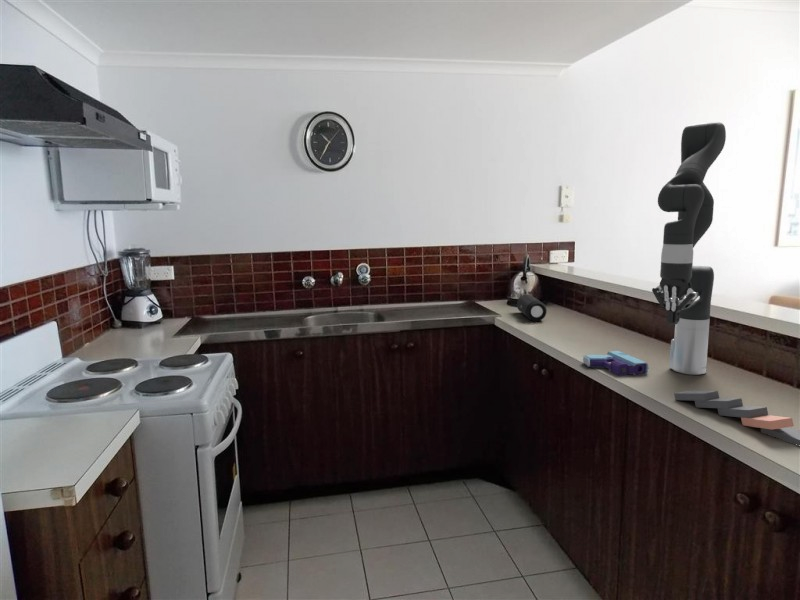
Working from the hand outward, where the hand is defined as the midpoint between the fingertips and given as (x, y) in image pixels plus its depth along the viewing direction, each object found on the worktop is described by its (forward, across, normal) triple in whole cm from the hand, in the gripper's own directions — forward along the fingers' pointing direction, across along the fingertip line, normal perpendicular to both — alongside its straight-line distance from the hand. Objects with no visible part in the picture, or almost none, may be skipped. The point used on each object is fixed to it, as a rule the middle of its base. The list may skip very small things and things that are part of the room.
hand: (672, 323), depth 139 cm
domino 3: (+18, -18, +2) cm, 25 cm away
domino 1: (+19, -5, +2) cm, 19 cm away
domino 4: (+18, -24, +3) cm, 30 cm away
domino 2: (+19, -11, +2) cm, 22 cm away
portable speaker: (+21, +104, -37) cm, 112 cm away
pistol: (+20, +23, -4) cm, 31 cm away
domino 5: (+19, -28, +3) cm, 34 cm away
